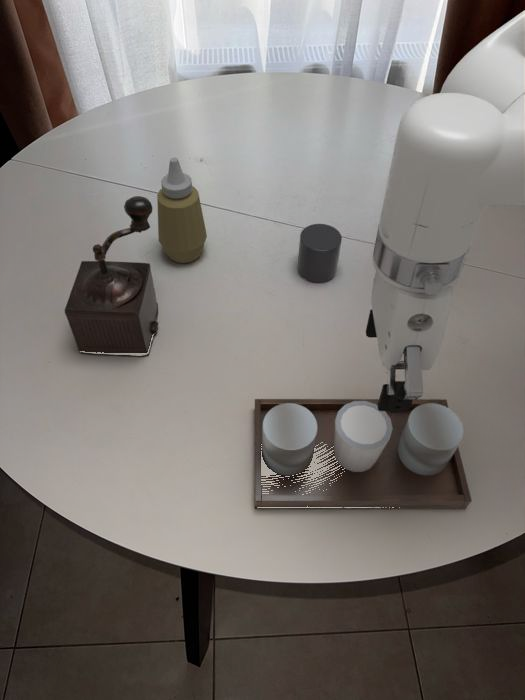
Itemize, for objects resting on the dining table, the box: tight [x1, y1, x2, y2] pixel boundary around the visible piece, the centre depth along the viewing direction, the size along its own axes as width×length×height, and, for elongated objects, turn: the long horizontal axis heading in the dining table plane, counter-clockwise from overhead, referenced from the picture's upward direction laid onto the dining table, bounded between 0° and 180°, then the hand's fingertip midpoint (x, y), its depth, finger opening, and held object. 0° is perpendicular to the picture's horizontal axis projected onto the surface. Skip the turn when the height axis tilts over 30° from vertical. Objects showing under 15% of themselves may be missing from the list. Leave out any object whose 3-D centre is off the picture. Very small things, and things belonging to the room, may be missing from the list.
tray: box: [254, 398, 472, 509], centre depth 73 cm, size 26×15×7 cm, turn 91°
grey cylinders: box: [296, 223, 343, 284], centre depth 95 cm, size 26×7×7 cm, turn 91°
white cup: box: [334, 401, 393, 472], centre depth 72 cm, size 7×7×7 cm
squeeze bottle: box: [156, 157, 208, 264], centre depth 92 cm, size 8×8×18 cm
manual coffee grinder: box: [64, 195, 159, 353], centre depth 83 cm, size 16×11×18 cm
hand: (385, 370), depth 62 cm, fingers open, 9 cm apart
